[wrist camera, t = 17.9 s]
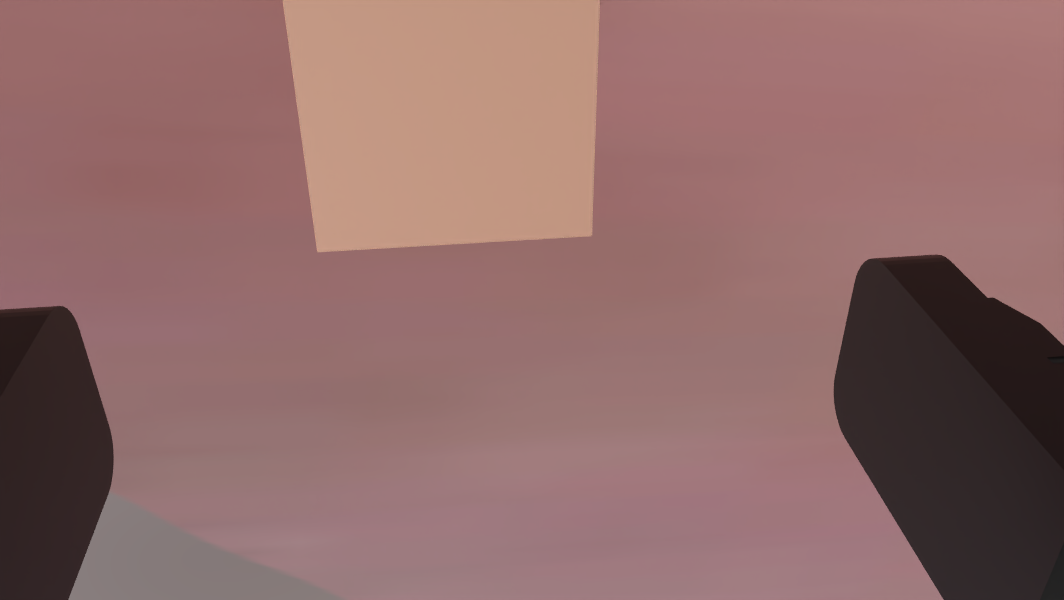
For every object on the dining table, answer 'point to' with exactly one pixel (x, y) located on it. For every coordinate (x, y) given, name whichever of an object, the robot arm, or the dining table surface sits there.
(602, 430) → the dining table surface
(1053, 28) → the dining table surface
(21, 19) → the dining table surface
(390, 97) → the tan block
